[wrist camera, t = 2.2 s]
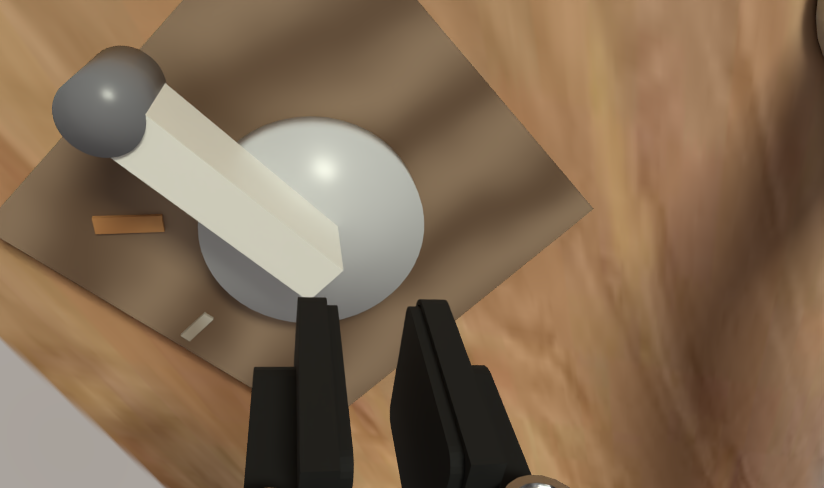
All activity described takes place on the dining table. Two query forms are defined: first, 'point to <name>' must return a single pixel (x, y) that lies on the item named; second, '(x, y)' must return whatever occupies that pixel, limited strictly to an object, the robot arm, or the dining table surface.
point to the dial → (256, 188)
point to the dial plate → (300, 97)
